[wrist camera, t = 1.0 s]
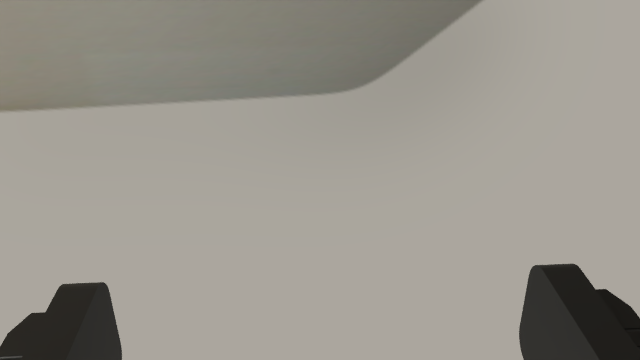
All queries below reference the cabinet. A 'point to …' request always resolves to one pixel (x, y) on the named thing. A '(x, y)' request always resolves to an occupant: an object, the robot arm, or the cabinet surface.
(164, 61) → the cabinet surface
